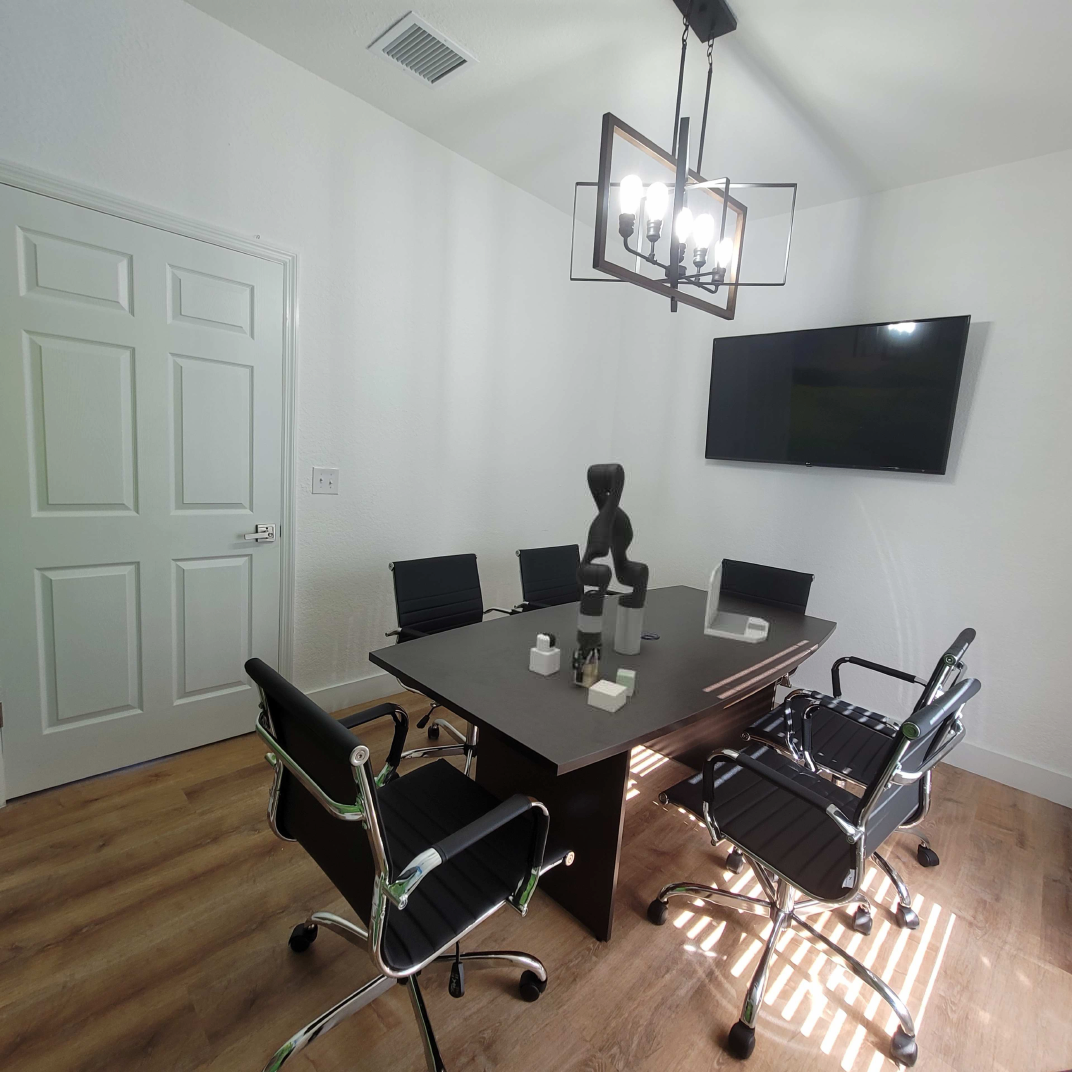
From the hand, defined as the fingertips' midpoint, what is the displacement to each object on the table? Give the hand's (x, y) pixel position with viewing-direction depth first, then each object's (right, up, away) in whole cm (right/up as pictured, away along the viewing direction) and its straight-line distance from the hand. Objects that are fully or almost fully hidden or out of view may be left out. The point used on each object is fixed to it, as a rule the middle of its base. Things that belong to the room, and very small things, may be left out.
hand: (585, 678), depth 169 cm
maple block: (0, -1, 0) cm, 1 cm away
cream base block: (+5, -4, -13) cm, 15 cm away
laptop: (+72, +3, +68) cm, 100 cm away
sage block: (+11, -3, -4) cm, 12 cm away
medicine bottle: (-13, 0, +8) cm, 15 cm away
